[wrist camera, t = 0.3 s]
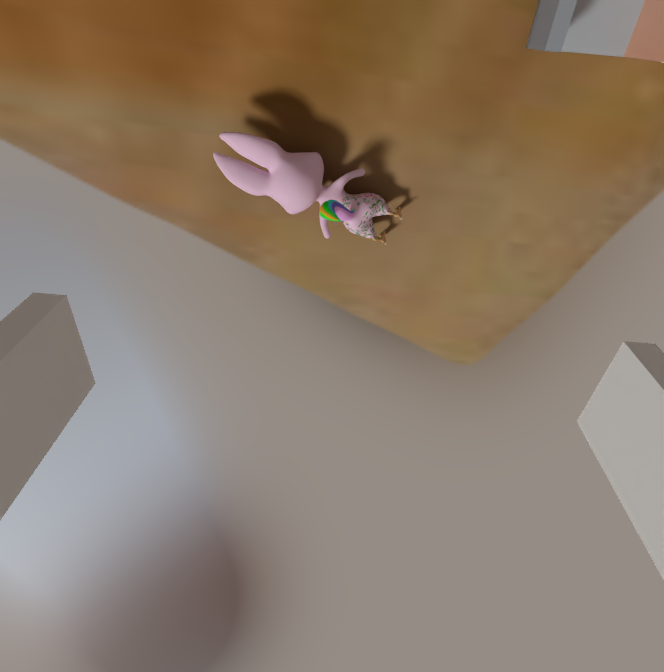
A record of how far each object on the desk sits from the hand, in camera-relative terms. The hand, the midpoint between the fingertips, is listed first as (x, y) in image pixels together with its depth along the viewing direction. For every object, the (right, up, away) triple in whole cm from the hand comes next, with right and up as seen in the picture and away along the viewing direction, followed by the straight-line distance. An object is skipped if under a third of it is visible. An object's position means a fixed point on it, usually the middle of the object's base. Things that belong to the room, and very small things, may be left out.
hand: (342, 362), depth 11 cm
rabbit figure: (-2, +13, +25) cm, 28 cm away
